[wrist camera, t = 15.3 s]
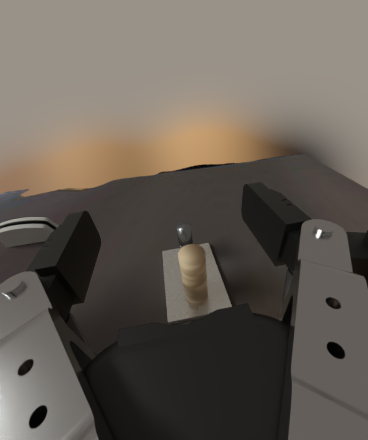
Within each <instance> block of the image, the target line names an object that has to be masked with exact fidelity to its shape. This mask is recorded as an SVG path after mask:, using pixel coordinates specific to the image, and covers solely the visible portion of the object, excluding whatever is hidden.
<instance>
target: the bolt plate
mask: <svg viewBox="0 0 368 440" xmlns="http://www.w3.org/2000/svg"><path fill="white" fill-rule="evenodd" d="M176 227H177V233H178V239H179V245H180V248H178V249H173V250H167V251H162V253H163V266H164V279H165V291H166V304H167V317H168V324H176V323H181V322H186V321H191V320H196V319H199V318H201V317H203V316H205V315H207V314H209V313H211V312H213V311H215V310H218V309H223V308H227V307H232V305H231V302H230V300H229V297H228V294H227V292H226V289H225V286H224V283H223V281H222V278H221V275H220V273H219V270H218V267H217V265H216V262H215V259H214V257H213V254H212V251H211V248H210V246H209V243H205V244H200V246H201V247H203V248H204V250H205V255H206V272H207V288H208V300H207V302H206V303H205V304H204V305H202V306H200V307H194V306H191V305H190V304H188V302H187V301H186V297H185V292H184V286H183V281H182V275H181V270H180V264H179V259H178V252H179V250H180V249H181V248H182V247H183V246H185V245H188V244H193V241H192V232H191V224H190V223H189V222H180V223H178V224H177V226H176Z"/></svg>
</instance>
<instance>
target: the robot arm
mask: <svg viewBox="0 0 368 440" xmlns="http://www.w3.org/2000/svg"><path fill="white" fill-rule="evenodd" d="M241 211H242V217H243V220H244V222H245V223H246V224H247V226H248V227H249V229H250V230H251V232H252V233H253V235H254V236H255V237H256V239H257V240H258V242H259V243H260V245H261V246H262V248H263V249H264V251H265V252H266V253H267V255H268V256H269V258H270V259H271V261H272V262H273V264H274V265H275V266H279V265H284V264H286V266H287V267H288V270H287V273H286V279H285V286H284V292H283V298H282V305H281V310H280V314H279V318H278V320H277V319H275V318H273V317H269V316H266V315H262V314H257V313H252V312H251V309H250V307H249V305H248V303H247V304H242V305H237V306H232V307H227V308H223V309H218V310H215V311H213V312H211V313H209V314H207V315H205V316H203V317H201V318H199V319H198V320H196V321H194V322H192V323H190V324H187V325H175V324H160V323H149V324H144V325H139V326H134V327H129V328H124V329H120V330H119V336H118V341H117V342H115V343H113V344H112V345H110V346H109V347H107V348H106V349H104V350H103V351H102V352H101V353H99V354H98V355H97V356H96V354H95V353H94V352H93V350H92V349H91V347H90V346H89V344H88V342H87V340H86V339H85V337H84V335H83V333H82V331H81V329H80V328H79V326H78V324H77V322H76V320H75V318H74V317H73V315H72V313H71V312H70V309H71V306H72V305H74V304H80V303H84V300H85V296H86V293H87V290H88V287H89V283H90V280H91V277H92V273H93V270H94V267H95V263H96V260H97V257H98V253H99V250H100V247H101V239H100V235H99V233H98V231H97V229H96V227H95V225H94V223H93V220H92V218H91V216H90V214H89V213H88V212H87V211H81V212H75V213H70V214H68V216H67V217H66V219H65V221H64V222H63V224H62V225H60V226H59V227H57V228H56V229H55V230H54V231H53V232H52V233H51V234H50V236H49V237H48V239H47V240H46V241H47V242H45V243H44V245H43V246H42V249H40V251H39V252H38V254H37V255H36V257H35V258H34V260H33V261H32V263H31V264H30V266H29V267H28V269H27V270H26V272H22V273H19V274H17V275H14V276H12V277H11V278H9V279H7V280H6V281H4V282H3V283H2V284H0V440H368V231H367V233H358V232H345V230H344V229H343V228H341V227H340V226H338V225H337V224H334V223H332V222H329V221H325V220H319V219H313V220H312V219H311V218H310V217H308V216H307V215H306V214H305V213H304V212H302V211H301V210H300V209H299V208H298V207H297V206H295V205H293V203H292V202H291V201H289V200H287V198H286V197H285V196H283V195H282V194H281V193H279V192H276V191H274V190H272V189H270V190H269V189H268V188H267V187H266V186H265V185H264V184H262V183H261V182H255V183H249V184H245V185H244V187H243V197H242V210H241Z"/></svg>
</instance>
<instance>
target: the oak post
mask: <svg viewBox="0 0 368 440" xmlns="http://www.w3.org/2000/svg"><path fill="white" fill-rule="evenodd" d="M178 259H179V264H180V270H181V275H182V281H183V286H184V292H185V297H186V301H187V302H188V304H190V305H191V306H194V307H200V306H202V305H204V304H205V303H206V302H207V300H208V288H207V272H206V255H205V250H204V248H203V247H201V246H200V245H197V244H188V245H185V246H183V247H182V248H181V249H180V250H179V252H178Z"/></svg>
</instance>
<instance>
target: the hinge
mask: <svg viewBox="0 0 368 440" xmlns="http://www.w3.org/2000/svg"><path fill="white" fill-rule="evenodd" d="M57 227H59V226H58V225H57V224H56V223H54V222H53V221H51V220H50V219H48V218H45V217H28V218H19V219H13V220H9V221H6V222H3V223H1V224H0V243H2V244H3V245H5V246H6V247H13V246H19V245H25V244H31V243H37V242H43V241H46V240H47V239H48V237H49V236H50V234H51V233H52V232H53V231H54V230H55V229H56V228H57Z"/></svg>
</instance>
